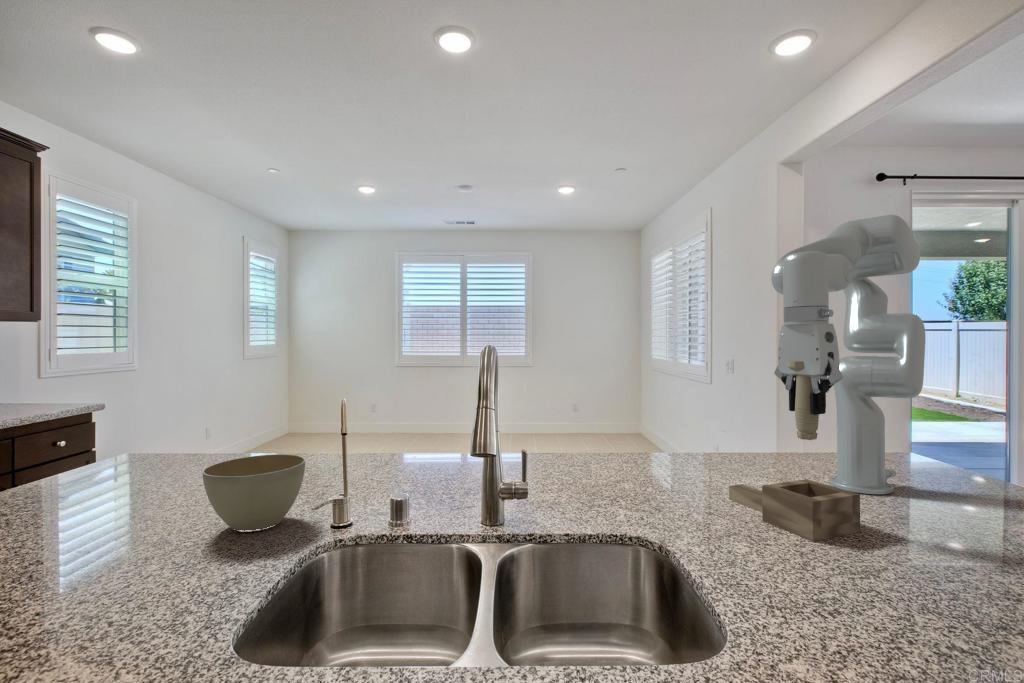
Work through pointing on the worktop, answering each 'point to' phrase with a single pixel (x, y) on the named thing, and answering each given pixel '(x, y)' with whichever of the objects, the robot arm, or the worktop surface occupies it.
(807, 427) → the handle
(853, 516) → the wooden box scoop
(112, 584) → the worktop surface
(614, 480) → the worktop surface
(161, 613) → the worktop surface
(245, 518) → the olive grey bowl
